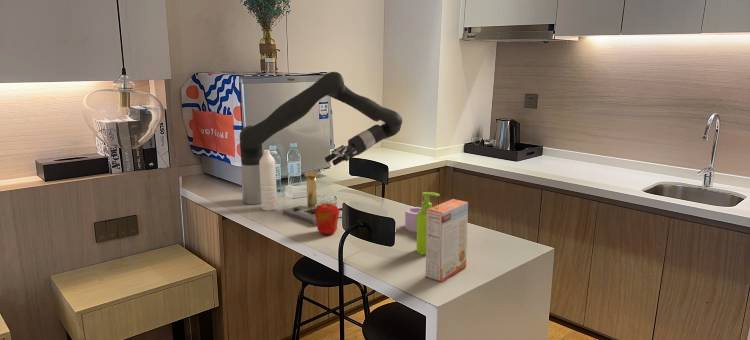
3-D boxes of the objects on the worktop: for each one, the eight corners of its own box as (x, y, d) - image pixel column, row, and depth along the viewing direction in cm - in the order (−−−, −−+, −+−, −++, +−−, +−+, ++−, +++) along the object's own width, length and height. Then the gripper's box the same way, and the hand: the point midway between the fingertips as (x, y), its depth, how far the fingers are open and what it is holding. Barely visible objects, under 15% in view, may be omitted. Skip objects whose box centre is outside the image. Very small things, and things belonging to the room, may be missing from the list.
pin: (302, 207, 213) (301, 172, 210) (313, 204, 217) (312, 170, 214) (311, 210, 209) (310, 174, 206) (321, 207, 213) (320, 172, 210)
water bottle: (258, 208, 212) (255, 150, 206) (270, 205, 216) (267, 147, 211) (272, 212, 206) (269, 152, 201) (284, 208, 211) (281, 150, 206)
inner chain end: (283, 213, 205) (283, 208, 204) (300, 208, 211) (300, 204, 211) (313, 224, 192) (313, 219, 192) (331, 218, 199) (330, 213, 198)
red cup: (310, 234, 181) (310, 203, 179) (323, 227, 189) (323, 197, 186) (331, 238, 177) (330, 206, 175) (343, 231, 185) (343, 200, 182)
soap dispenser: (436, 255, 163) (438, 195, 158) (415, 253, 164) (416, 194, 159) (438, 248, 168) (440, 191, 164) (417, 247, 169) (418, 189, 165)
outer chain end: (297, 218, 199) (296, 209, 198) (314, 213, 205) (314, 204, 204) (318, 226, 190) (318, 217, 189) (336, 220, 197) (336, 211, 196)
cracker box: (450, 262, 157) (452, 197, 153) (466, 267, 153) (469, 201, 149) (423, 276, 147) (425, 208, 142) (441, 283, 143) (443, 212, 138)
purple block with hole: (399, 231, 186) (399, 213, 184) (415, 221, 196) (415, 204, 194) (449, 241, 175) (449, 222, 174) (463, 231, 185) (464, 213, 184)
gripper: (351, 132, 215) (319, 151, 210) (365, 136, 202) (331, 156, 197) (358, 148, 217) (327, 167, 212) (372, 152, 205) (339, 172, 200)
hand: (329, 161), depth 205 cm, fingers open, 8 cm apart
